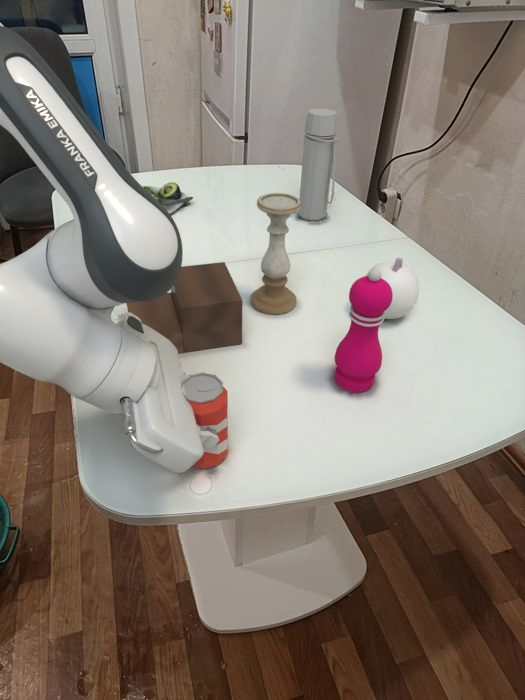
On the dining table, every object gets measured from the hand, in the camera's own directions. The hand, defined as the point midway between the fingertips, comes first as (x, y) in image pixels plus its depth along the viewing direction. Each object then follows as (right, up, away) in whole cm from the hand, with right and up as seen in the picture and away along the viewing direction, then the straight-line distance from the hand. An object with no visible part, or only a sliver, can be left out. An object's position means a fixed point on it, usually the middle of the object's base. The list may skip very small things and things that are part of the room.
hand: (208, 418), depth 65 cm
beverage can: (-1, -5, +4) cm, 7 cm away
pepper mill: (+22, +4, +17) cm, 27 cm away
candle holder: (+9, +18, +34) cm, 39 cm away
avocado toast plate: (-21, +46, +68) cm, 85 cm away
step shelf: (-7, +12, +25) cm, 29 cm away
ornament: (+30, +15, +32) cm, 46 cm away
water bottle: (+20, +42, +65) cm, 80 cm away
